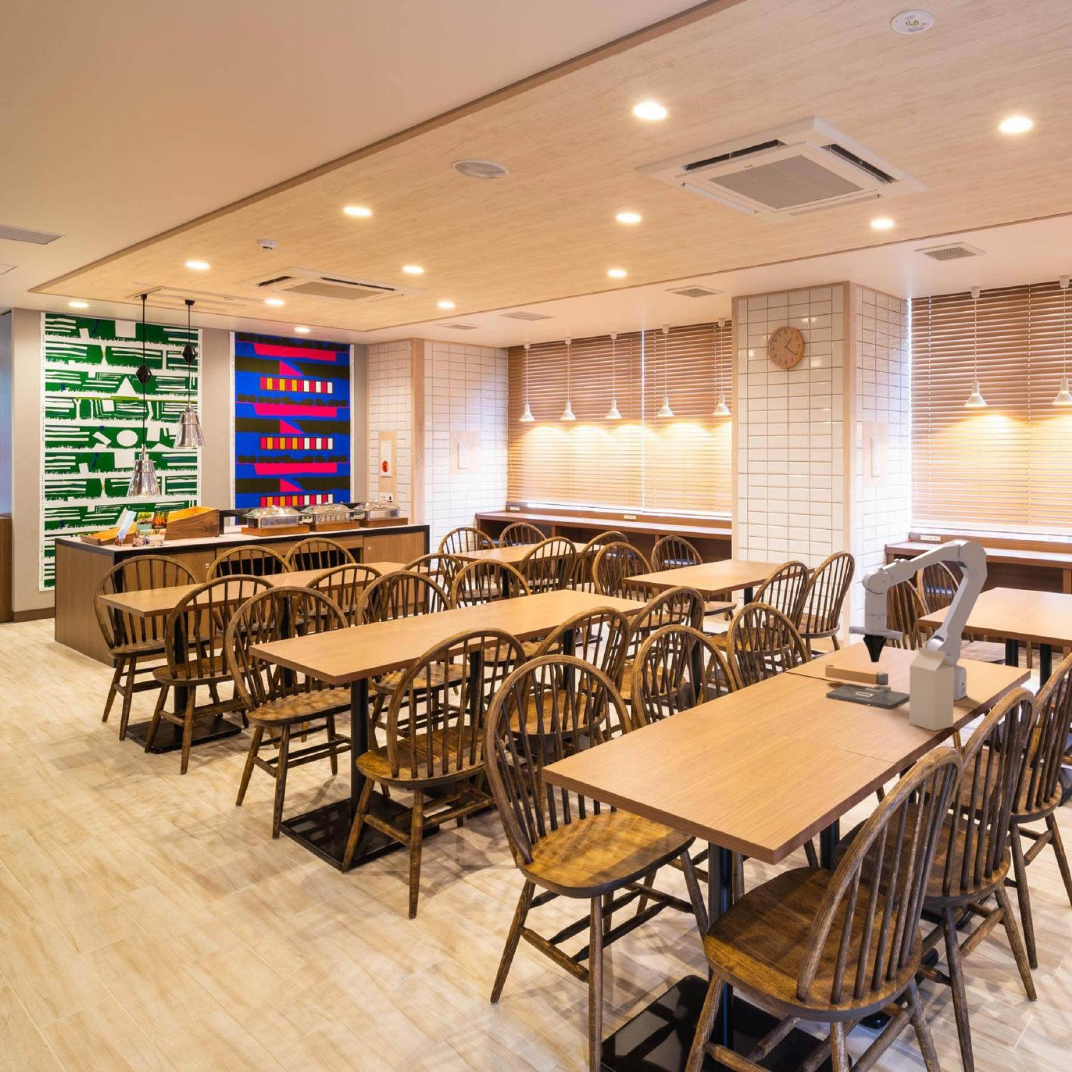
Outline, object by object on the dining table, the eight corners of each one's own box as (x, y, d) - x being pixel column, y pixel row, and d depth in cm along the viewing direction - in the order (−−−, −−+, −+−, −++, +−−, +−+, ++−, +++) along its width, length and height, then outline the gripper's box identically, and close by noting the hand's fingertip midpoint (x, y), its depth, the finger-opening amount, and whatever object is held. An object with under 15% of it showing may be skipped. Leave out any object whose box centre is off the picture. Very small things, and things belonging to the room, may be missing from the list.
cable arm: (890, 683, 237) (890, 673, 237) (885, 686, 235) (885, 675, 234) (828, 673, 250) (828, 663, 250) (823, 676, 247) (823, 666, 247)
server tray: (916, 695, 232) (916, 689, 232) (890, 708, 220) (890, 703, 220) (854, 684, 245) (854, 679, 245) (826, 696, 232) (826, 691, 232)
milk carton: (934, 731, 200) (935, 654, 199) (908, 724, 207) (910, 649, 205) (953, 727, 204) (954, 651, 202) (927, 719, 210) (929, 645, 208)
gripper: (844, 613, 234) (843, 660, 235) (895, 618, 224) (895, 668, 225) (855, 609, 239) (854, 656, 240) (906, 615, 229) (905, 663, 230)
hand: (875, 661), depth 233 cm, fingers closed
